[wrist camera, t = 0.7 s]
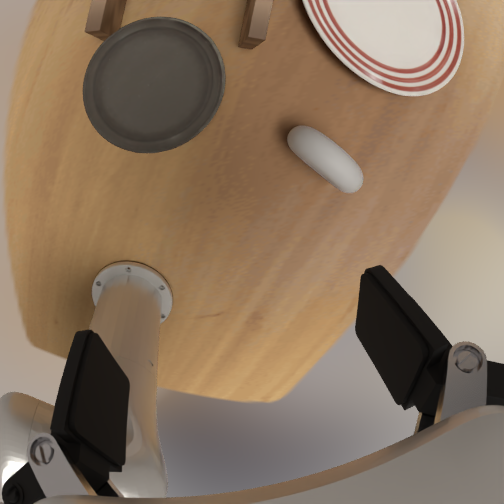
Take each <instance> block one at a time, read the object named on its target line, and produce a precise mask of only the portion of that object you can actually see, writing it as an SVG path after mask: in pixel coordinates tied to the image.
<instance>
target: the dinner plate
mask: <svg viewBox="0 0 504 504" xmlns="http://www.w3.org/2000/svg"><path fill="white" fill-rule="evenodd" d="M302 1H303V4H304V7H305V9H306V11H307V14H308V16H309V17H310V19H311V21H312V23H313V25H314V27H315V28H316V30H317V32H318V33H319V35H320V36H321V38H322V39H323V41H324V42H325V43H326V45H327V46H328V47H329V48H330V50H331V51H332V52H333V53H334V54H335V55H336V56H337V57H338V58H339V59H340V60H341V61H342V62H343V63H344V64H345V65H346V66H347V67H348V68H349V69H351V70H352V71H353V72H354V73H356V74H357V75H358V76H360V77H361V78H363V79H364V80H366V81H367V82H369V83H371V84H373V85H375V86H376V87H378V88H381V89H383V90H385V91H388V92H391V93H394V94H398V95H404V96H422V95H427V94H430V93H433V92H435V91H437V90H439V89H440V88H442V87H443V86H445V85H446V84H447V83H448V82H449V81H450V80H451V78H452V77H453V76H454V74H455V73H456V71H457V69H458V67H459V64H460V62H461V58H462V54H463V48H464V28H463V21H462V17H461V13H460V9H459V6H458V3H457V1H456V0H302Z"/></svg>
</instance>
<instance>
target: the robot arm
mask: <svg viewBox="0 0 504 504" xmlns="http://www.w3.org/2000/svg"><path fill="white" fill-rule="evenodd" d="M92 299H93V302H94V304H95V307H96V308H95V311H94V314H93V317H92V320H91V323H90V326H89V330H84V331H78V332H76V334H75V336H74V339H73V342H72V345H71V348H70V352H69V355H68V358H67V362H66V365H65V369H64V372H63V376H62V379H61V383H60V387H59V391H58V395H57V399H56V403H55V406H53V405H51V404H48V403H46V402H43V401H41V400H39V399H36V398H34V397H31V396H29V395H26V394H23V393H19V392H10V393H7V394H5V395H3V396H2V397H1V398H0V504H504V364H501V363H496V362H492V361H487V359H486V355H485V354H484V351H483V350H482V349H481V348H480V347H479V346H477V345H476V344H474V343H471V342H459V343H457V344H455V345H454V346H452V345H451V344H450V342H449V341H448V340H447V339H446V337H445V336H444V335H443V334H442V332H441V331H440V330H439V329H438V328H437V326H436V325H435V324H434V323H433V322H432V320H431V319H430V318H429V317H428V316H427V314H426V313H425V312H424V311H423V310H422V308H421V307H420V306H419V305H418V304H417V303H416V302H415V300H414V299H413V298H412V297H411V296H410V295H409V294H407V292H406V291H405V290H404V289H403V288H402V287H401V286H400V284H399V283H398V282H397V281H396V280H395V279H394V278H393V277H392V276H391V274H390V273H389V272H388V271H387V270H386V269H385V268H384V267H383V266H382V265H379V266H375V267H371V268H368V269H366V270H365V272H364V274H362V275H361V280H360V291H359V300H358V309H357V318H356V326H355V331H356V334H357V337H358V338H359V340H360V342H361V343H362V345H363V347H364V348H365V350H366V352H367V354H368V355H369V357H370V359H371V360H372V362H373V364H374V365H375V367H376V369H377V370H378V372H379V374H380V376H381V378H382V379H383V381H384V383H385V384H386V386H387V388H388V390H389V391H390V393H391V395H392V397H393V399H394V401H395V402H396V404H398V405H402V407H403V409H404V410H406V409H408V408H411V407H413V406H416V408H417V410H418V411H419V415H418V419H417V423H416V427H415V431H414V435H413V436H410V437H408V438H406V439H404V440H402V441H399V442H398V443H395V444H393V445H391V446H388V447H386V448H384V449H381V450H379V451H377V452H374V453H372V454H370V455H367V456H365V457H362V458H360V459H357V460H354V461H351V462H349V463H346V464H343V465H340V466H337V467H334V468H332V469H328V470H325V471H322V472H319V473H315V474H312V475H309V476H305V477H301V478H298V479H294V480H290V481H286V482H282V483H278V484H273V485H269V486H263V487H258V488H253V489H247V490H242V491H235V492H229V493H220V494H213V495H203V496H191V497H174V498H173V497H172V498H165V497H166V494H167V488H168V480H167V471H166V465H165V461H164V457H163V453H162V449H161V445H160V440H159V434H158V426H157V411H156V395H157V366H158V348H159V334H160V324H161V323H162V322H163V321H165V320H166V319H167V317H168V316H169V314H170V312H171V309H172V292H171V289H170V287H169V285H168V283H167V282H166V280H165V279H164V278H163V277H162V276H161V275H160V274H159V273H158V272H157V271H155V270H154V269H152V268H150V267H148V266H146V265H144V264H140V263H136V262H128V261H126V262H117V263H113V264H110V265H108V266H106V267H105V268H104V269H102V270H101V271H100V272H99V273H98V275H97V276H96V278H95V280H94V283H93V286H92Z"/></svg>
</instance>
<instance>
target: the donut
mask: <svg viewBox="0 0 504 504" xmlns="http://www.w3.org/2000/svg"><path fill="white" fill-rule="evenodd" d="M287 142H288V145H289V147H290V149H291V150H292V151H293V152H294V153H295V154H296V155H297V156H298V157H299V158H300V159H302V160H303V161H304V162H305V163H306V164H307V165H309V166H310V167H311V168H312V169H313V170H315V171H316V172H317V173H318V174H320V175H321V176H322V177H323V178H324V179H326V180H327V181H328V182H329V183H331V184H332V185H333V186H335V187H336V188H337V189H339V190H340V191H342V192H345V193H353V192H356V191H357V190H358V189H360V187H361V186H362V184H363V174H362V171H361V169H360V167H359V166H358V164H357V163H356V162H355V161H354V160H353V159H352V158H351V157H350V156H349V155H348V154H347V153H346V152H345V151H344V150H343V149H342V148H341V147H339V146H338V145H337V144H336V143H335V142H333V141H332V140H331V139H329V138H328V137H327V136H325V135H324V134H322V133H321V132H319V131H317V130H316V129H314V128H312V127H309V126H297V127H294V128H293V129H292V130H291V131H290V132H289V134H288V138H287Z"/></svg>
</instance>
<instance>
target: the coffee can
mask: <svg viewBox="0 0 504 504" xmlns="http://www.w3.org/2000/svg"><path fill="white" fill-rule="evenodd" d="M224 89H225V67H224V63H223V59H222V57H221V54H220V52H219V50H218V48H217V47H216V45H215V43H214V42H213V41H212V39H211V38H210V37H209V36H208V35H207V34H206V33H205V32H203V31H202V30H201V29H199V28H198V27H196V26H195V25H193V24H191V23H189V22H186V21H184V20H180V19H177V18H171V17H151V18H145V19H142V20H138V21H135V22H133V23H130V24H128V25H126V26H124V27H122V28H120V29H119V30H118V31H116V32H114V33H113V34H112V35H111V36H109V37H108V38H107V39H106V40H105V41H104V42H103V43H102V44H101V45H100V47H99V48H98V49H97V51H96V52H95V53H94V55H93V57H92V59H91V60H90V63H89V65H88V67H87V70H86V73H85V77H84V83H83V101H84V106H85V110H86V113H87V115H88V118H89V120H90V121H91V123H92V125H93V126H94V128H95V129H96V130H97V132H98V133H99V134H100V135H101V136H102V137H103V138H104V139H106V140H107V141H108V142H110V143H111V144H114V145H115V146H117V147H120V148H122V149H125V150H128V151H132V152H136V153H157V152H162V151H167V150H170V149H174V148H176V147H178V146H180V145H182V144H184V143H186V142H188V141H189V140H191V139H192V138H194V137H195V136H196V135H198V134H199V133H200V132H201V131H202V130H203V129H204V128H205V127H206V126H207V125H208V124H209V122H210V121H211V120H212V118H213V117H214V115H215V113H216V112H217V110H218V108H219V106H220V103H221V101H222V97H223V94H224Z"/></svg>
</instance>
